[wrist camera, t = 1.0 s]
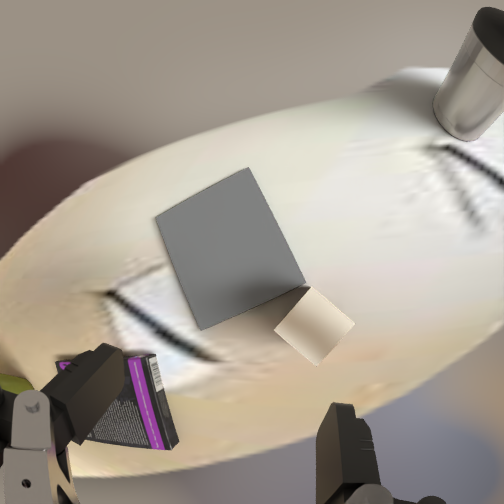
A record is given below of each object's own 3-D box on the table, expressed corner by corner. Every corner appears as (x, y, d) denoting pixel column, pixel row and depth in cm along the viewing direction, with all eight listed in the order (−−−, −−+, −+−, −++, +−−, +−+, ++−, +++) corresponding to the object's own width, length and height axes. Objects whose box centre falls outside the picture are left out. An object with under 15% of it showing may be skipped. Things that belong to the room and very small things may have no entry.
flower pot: (18, 418, 42) (-33, 433, 26) (5, 355, 44) (-51, 362, 28) (57, 437, 39) (0, 461, 24) (42, 366, 41) (-25, 379, 26)
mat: (250, 169, 38) (248, 167, 37) (306, 282, 35) (306, 282, 34) (159, 219, 40) (155, 217, 39) (203, 329, 37) (200, 330, 36)
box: (159, 352, 38) (65, 357, 41) (147, 356, 35) (52, 360, 37) (181, 441, 36) (85, 432, 39) (172, 451, 32) (73, 438, 35)
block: (310, 287, 35) (311, 286, 25) (342, 314, 34) (355, 323, 24) (283, 318, 35) (273, 330, 25) (314, 345, 34) (316, 366, 24)
